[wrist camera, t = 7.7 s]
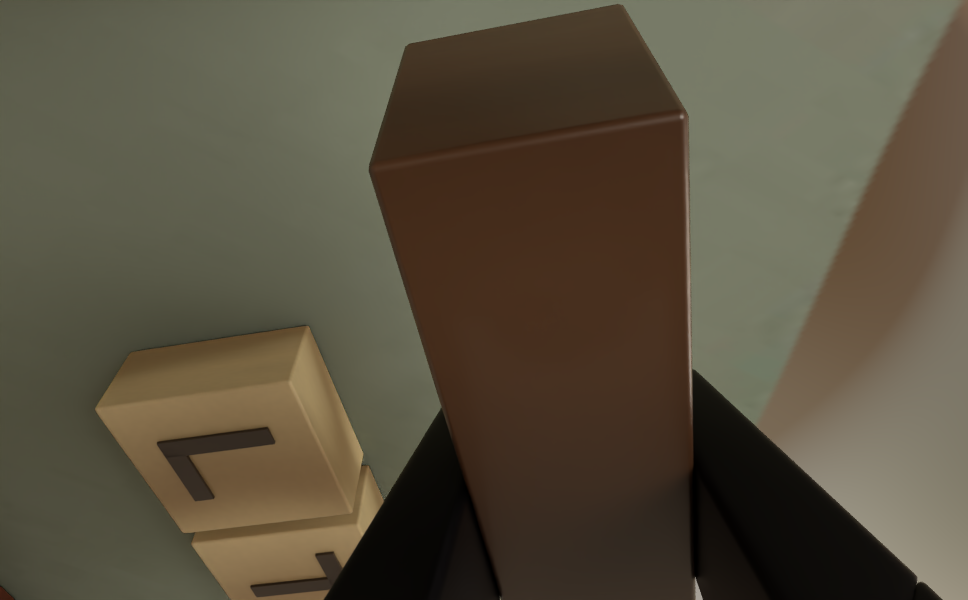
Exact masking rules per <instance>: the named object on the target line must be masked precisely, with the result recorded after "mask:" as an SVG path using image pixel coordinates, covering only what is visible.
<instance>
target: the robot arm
mask: <svg viewBox="0 0 968 600" xmlns="http://www.w3.org/2000/svg"><path fill="white" fill-rule="evenodd" d="M692 391H693V460H694V534H695V577H696V580H697V583H698V586H699V589H700V592H701V595H702V598H703V600H942V599H941V598H940V597H939V596H938V595H937V594H936V593H935V592H934V591H933V590H932V589H931V588H930V587H928V585H926V584H925V583H923V582H919V583H917V576H916V575H915V574H914V573H913V572H912V571H911V570H910V569H909V568H908V567H907V566H905V565H904V564H903V563H902V562H901V561H900V560H899V559H898V558H897V557H896V556H895V555H894V554H893V553H892V552H890V551H889V550H888V549H887V548H886V547H885V546H884V545H883V544H882V543H881V542H880V541H879V540H877V539H876V538H875V537H874V536H873V535H872V534H871V533H870V532H869V531H868V530H867V529H866V528H865V527H863V526H862V525H861V524H860V523H859V522H858V521H857V520H856V519H855V518H854V517H853V516H851V515H850V513H849V512H847V511H846V510H845V509H844V508H843V507H842V506H841V505H840V504H839V503H838V502H836V500H835V499H833V498H832V497H831V496H830V495H829V494H828V493H827V492H826V491H825V490H824V489H823V488H822V487H821V486H819V485H818V484H817V483H816V482H815V481H814V480H813V479H812V478H811V477H810V476H809V475H808V474H807V473H805V472H804V471H803V470H802V469H801V468H800V467H799V466H798V465H797V464H796V463H795V462H794V461H792V460H791V459H790V458H789V457H788V456H787V455H786V454H785V453H784V452H783V451H782V450H781V449H780V448H779V447H777V446H776V445H775V444H774V443H773V442H772V441H771V440H770V439H769V438H767V436H766V435H764V434H763V433H762V432H761V431H760V430H759V429H758V428H757V427H756V426H755V425H754V424H753V423H752V422H751V421H749V420H748V419H747V418H746V417H745V416H744V415H743V414H742V413H741V412H740V411H739V410H738V409H737V408H736V407H734V406H733V405H732V404H731V403H730V402H729V401H728V400H727V399H726V398H725V397H724V396H723V395H722V394H720V393H719V392H718V391H717V390H716V389H715V388H714V387H713V386H712V385H711V384H710V383H709V382H708V381H706V380H705V379H704V378H703V377H702V376H701V375H700V374H699V373H698V372H697V371H695V370H693V369H692ZM916 584H917V585H916ZM324 600H500V594H499V591H498V588H497V584H496V581H495V578H494V575H493V571H492V568H491V565H490V562H489V558H488V555H487V552H486V549H485V545H484V542H483V539H482V536H481V532H480V529H479V526H478V523H477V520H476V516H475V513H474V510H473V507H472V503H471V500H470V497H469V494H468V491H467V488H466V484H465V481H464V478H463V475H462V471H461V468H460V465H459V462H458V458H457V455H456V452H455V449H454V446H453V442H452V439H451V436H450V433H449V429H448V426H447V423H446V420H445V416H444V413H443V410H442V408H441V409H440V411H439V412H438V414H437V416H436V417H435V419H434V421H433V422H432V424H431V425H430V427H429V429H428V430H427V432H426V434H425V435H424V437H423V439H422V440H421V442H420V443H419V445H418V447H417V448H416V450H415V452H414V453H413V455H412V456H411V458H410V460H409V461H408V463H407V465H406V466H405V468H404V469H403V471H402V473H401V474H400V476H399V478H398V479H397V481H396V483H395V484H394V486H393V487H392V489H391V491H390V492H389V494H388V496H387V497H386V499H385V500H384V502H383V504H382V505H381V507H380V509H379V510H378V512H377V513H376V515H375V517H374V518H373V520H372V522H371V523H370V525H369V527H368V528H367V530H366V531H365V533H364V535H363V536H362V538H361V540H360V541H359V543H358V544H357V546H356V548H355V549H354V551H353V553H352V554H351V556H350V557H349V559H348V561H347V562H346V564H345V566H344V567H343V569H342V571H341V572H340V574H339V575H338V577H337V579H336V580H335V582H334V584H333V585H332V587H331V588H330V590H329V592H328V593H327V595H326V597H325V598H324Z"/></svg>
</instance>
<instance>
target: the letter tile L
mask: <svg viewBox="0 0 968 600" xmlns="http://www.w3.org/2000/svg"><path fill="white" fill-rule="evenodd" d="M95 411H96V413H97V414H98V415H99V417H100V418H101V420H102V421H103V422H104V424H105V425H106V427H107V428H108V429H109V431H110V432H111V434H112V435H113V436H114V438H115V439H116V441H117V442H118V443H119V445H120V446H121V448H122V449H123V450H124V452H125V453H126V454H127V456H128V457H129V459H130V460H131V461H132V463H133V464H134V466H135V467H136V468H137V470H138V471H139V473H140V474H141V475H142V477H143V478H144V480H145V481H146V482H147V484H148V485H149V487H150V488H151V489H152V491H153V492H154V493H155V495H156V496H157V498H158V499H159V500H160V502H161V503H162V505H163V506H164V507H165V509H166V510H167V512H168V513H169V514H170V516H171V517H172V519H173V520H174V521H175V523H176V524H177V526H178V527H179V528H180V530H181V531H182V532H183V533H192V532H200V531H209V530H217V529H226V528H234V527H243V526H251V525H260V524H268V523H277V522H285V521H294V520H302V519H311V518H319V517H328V516H336V515H345V514H351V513H352V512H353V507H354V501H355V496H356V491H357V485H358V480H359V475H360V470H361V464H362V459H363V452H362V449H361V447H360V445H359V442H358V440H357V438H356V435H355V433H354V431H353V428H352V426H351V424H350V421H349V419H348V417H347V414H346V412H345V410H344V407H343V405H342V403H341V400H340V398H339V396H338V393H337V391H336V389H335V386H334V384H333V382H332V379H331V377H330V375H329V372H328V370H327V368H326V365H325V363H324V361H323V358H322V356H321V354H320V351H319V349H318V347H317V344H316V342H315V340H314V337H313V335H312V333H311V330H310V328H309V326H300V327H294V328H287V329H280V330H274V331H267V332H261V333H254V334H247V335H241V336H234V337H227V338H221V339H214V340H208V341H201V342H194V343H188V344H181V345H175V346H168V347H161V348H155V349H148V350H141V351H135V352H131V353H130V354H129V355H128V357H127V358H126V360H125V362H124V363H123V365H122V366H121V368H120V370H119V371H118V373H117V374H116V376H115V377H114V379H113V381H112V382H111V384H110V385H109V387H108V389H107V390H106V392H105V393H104V395H103V396H102V398H101V400H100V401H99V403H98V404H97V406H96V407H95Z"/></svg>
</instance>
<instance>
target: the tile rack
mask: <svg viewBox="0 0 968 600" xmlns="http://www.w3.org/2000/svg"><path fill="white" fill-rule="evenodd" d="M0 600H15V599H14V598H12V597H11V596H10V595H9V594H8V593H7V592H6V591H5V590H4V589H3V588H2V587H1V586H0Z"/></svg>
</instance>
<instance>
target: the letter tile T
mask: <svg viewBox="0 0 968 600" xmlns="http://www.w3.org/2000/svg"><path fill="white" fill-rule="evenodd" d="M383 502H384V500H383V498H382V496H381V493H380V491H379V489H378V486H377V484H376V482H375V479H374V477H373V475H372V472H371V470H370V468H369V466H368V465H364V466H361V470H360V475H359V480H358V485H357V491H356V496H355V501H354V507H353V512H352V513H351V514H345V515H336V516H328V517H319V518H311V519H302V520H294V521H285V522H277V523H268V524H260V525H251V526H243V527H234V528H226V529H217V530H209V531H200V532H195V535H194V537H193V540H192V543H191V544H192V547H193V548H194V549H195V551H196V552H197V553H198V555H199V556H200V558H201V559H202V560H203V562H204V563H205V565H206V566H207V567H208V569H209V570H210V572H211V573H212V574H213V576H214V577H215V579H216V580H217V581H218V583H219V584H220V585H221V587H222V588H223V590H224V591H225V592H226V594H227V595H228V597H229V598H230V599H231V600H324V598H325V597H326V595H327V593H328V592H329V590H330V588H331V587H332V585H333V584H334V582H335V580H336V579H337V577H338V575H339V574H340V572H341V571H342V569H343V567H344V566H345V564H346V562H347V561H348V559H349V557H350V556H351V554H352V553H353V551H354V549H355V548H356V546H357V544H358V543H359V541H360V540H361V538H362V536H363V535H364V533H365V531H366V530H367V528H368V527H369V525H370V523H371V522H372V520H373V518H374V517H375V515H376V513H377V512H378V510H379V509H380V507H381V505H382V504H383Z"/></svg>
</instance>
